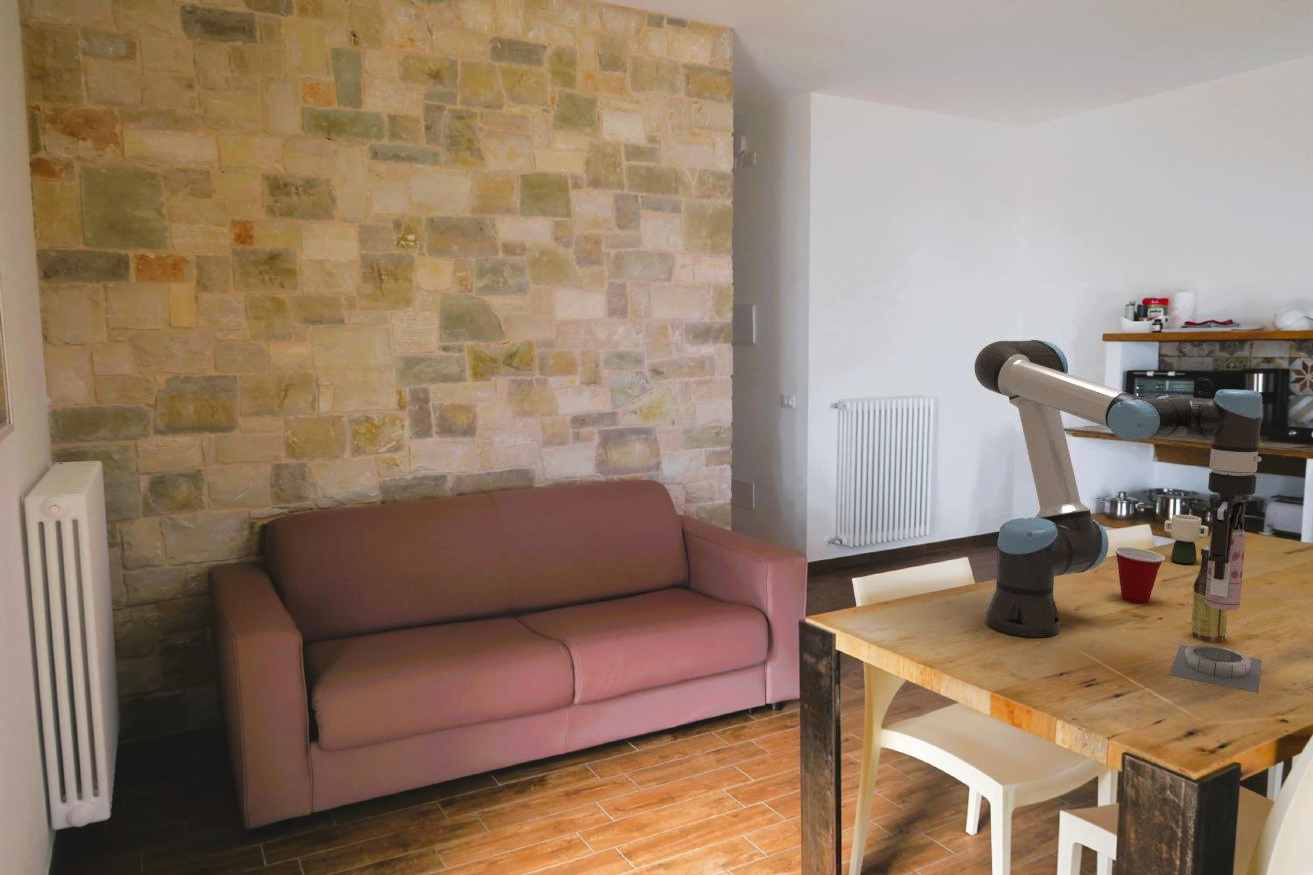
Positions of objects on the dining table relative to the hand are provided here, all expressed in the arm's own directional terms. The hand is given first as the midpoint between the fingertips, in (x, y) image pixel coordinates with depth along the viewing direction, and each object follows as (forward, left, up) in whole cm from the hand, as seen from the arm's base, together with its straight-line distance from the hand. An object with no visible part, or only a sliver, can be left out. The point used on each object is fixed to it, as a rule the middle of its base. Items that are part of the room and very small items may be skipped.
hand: (1223, 591), depth 171 cm
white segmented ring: (0, 0, -15) cm, 15 cm away
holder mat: (0, 0, -16) cm, 16 cm away
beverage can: (0, 0, -3) cm, 3 cm away
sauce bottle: (+11, +15, -16) cm, 24 cm away
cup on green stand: (+52, +71, -16) cm, 89 cm away
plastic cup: (+15, +42, -16) cm, 47 cm away
